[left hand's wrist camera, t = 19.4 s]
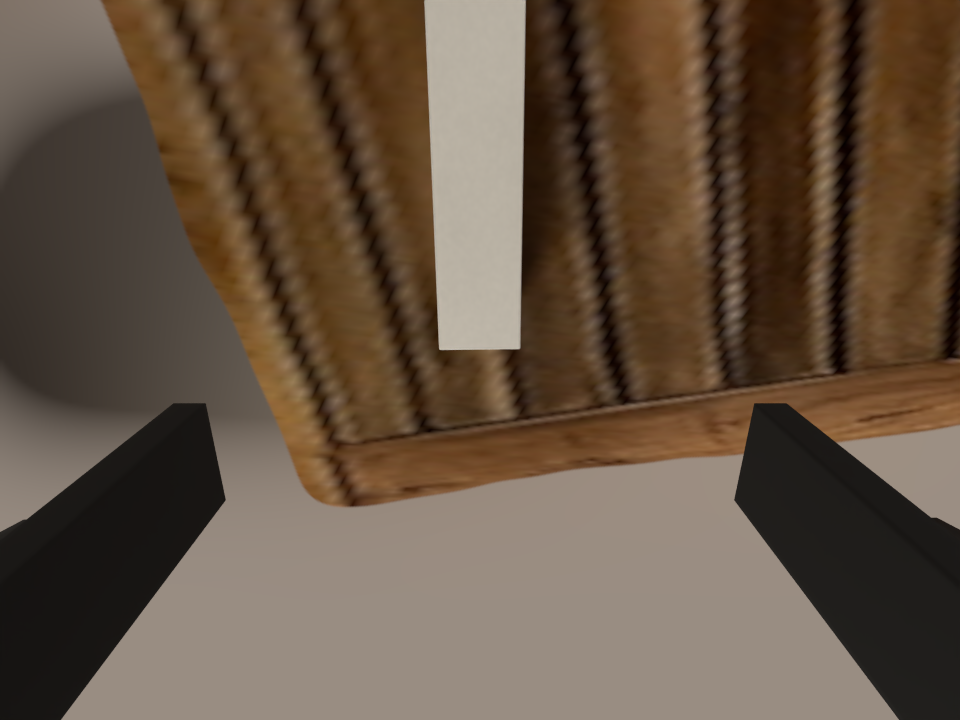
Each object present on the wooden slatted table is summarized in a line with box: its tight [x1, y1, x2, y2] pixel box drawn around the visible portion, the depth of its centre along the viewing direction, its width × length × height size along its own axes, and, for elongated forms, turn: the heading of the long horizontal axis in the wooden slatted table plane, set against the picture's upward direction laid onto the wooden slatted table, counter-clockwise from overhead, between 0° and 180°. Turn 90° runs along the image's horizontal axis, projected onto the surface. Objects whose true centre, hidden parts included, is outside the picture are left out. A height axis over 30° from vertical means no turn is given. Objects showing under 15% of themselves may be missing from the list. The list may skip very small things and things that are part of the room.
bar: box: [424, 0, 526, 350], centre depth 31 cm, size 25×5×8 cm, turn 1°
